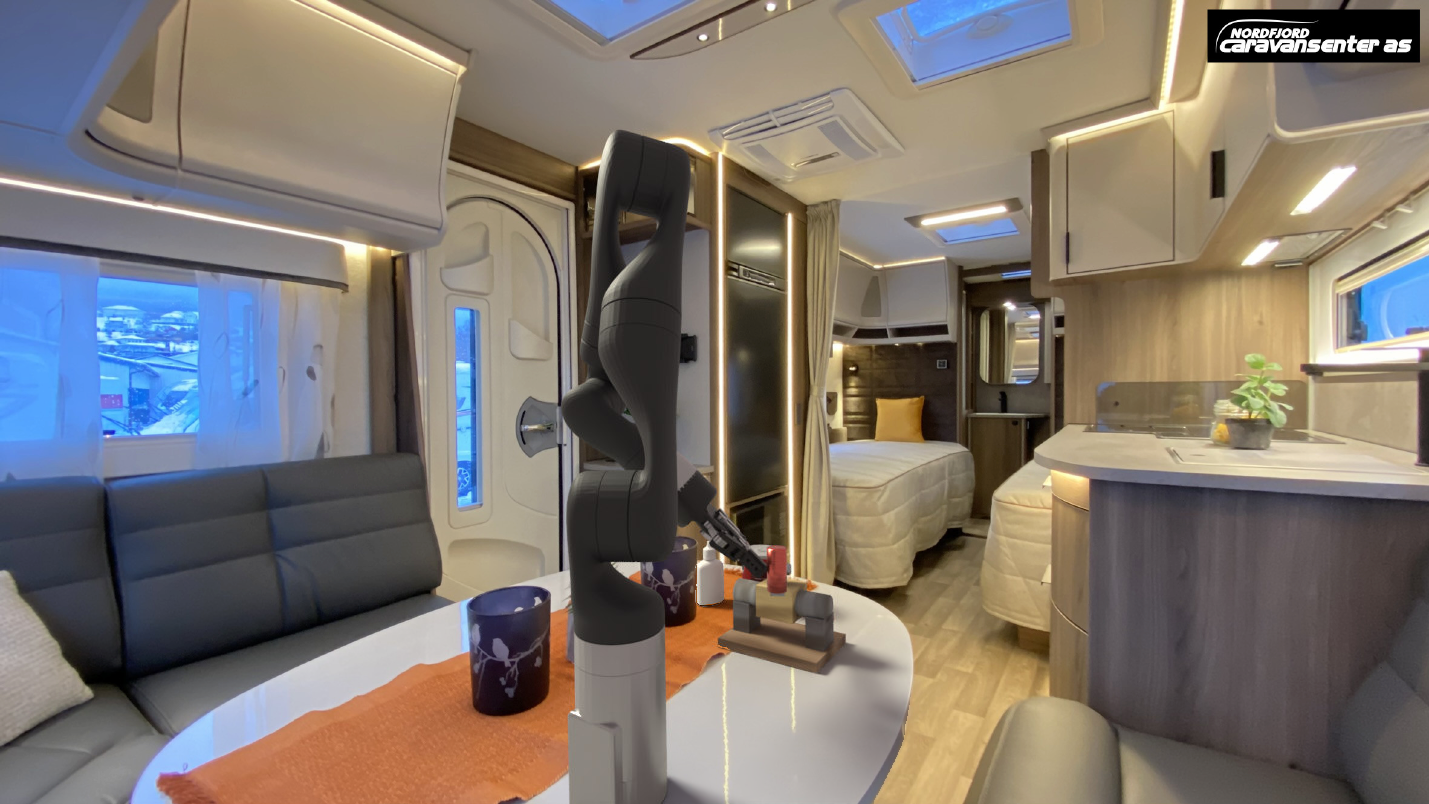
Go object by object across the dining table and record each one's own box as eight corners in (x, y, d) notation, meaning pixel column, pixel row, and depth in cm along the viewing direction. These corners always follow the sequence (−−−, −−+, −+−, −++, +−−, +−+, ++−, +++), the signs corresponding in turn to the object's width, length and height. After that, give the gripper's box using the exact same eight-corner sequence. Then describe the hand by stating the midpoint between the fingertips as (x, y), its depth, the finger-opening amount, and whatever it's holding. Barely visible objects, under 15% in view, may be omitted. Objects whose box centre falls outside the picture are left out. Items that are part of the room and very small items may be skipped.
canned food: (762, 597, 117) (761, 542, 117) (792, 608, 111) (791, 550, 111) (733, 606, 112) (732, 549, 112) (763, 618, 106) (762, 558, 106)
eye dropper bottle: (695, 599, 117) (694, 538, 116) (723, 598, 117) (722, 538, 117) (695, 607, 112) (695, 544, 112) (725, 606, 113) (724, 543, 112)
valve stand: (816, 673, 86) (815, 605, 85) (717, 647, 95) (717, 585, 95) (845, 643, 96) (845, 581, 95) (754, 621, 105) (753, 566, 105)
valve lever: (772, 578, 97) (771, 525, 97) (791, 578, 96) (791, 526, 96) (765, 612, 82) (764, 550, 82) (788, 613, 81) (787, 551, 81)
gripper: (692, 475, 77) (786, 568, 77) (698, 461, 90) (778, 541, 90) (651, 515, 77) (745, 608, 77) (663, 496, 90) (743, 575, 90)
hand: (763, 572), depth 84 cm, fingers closed
